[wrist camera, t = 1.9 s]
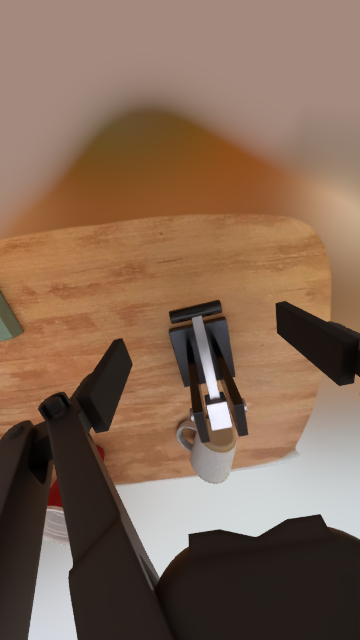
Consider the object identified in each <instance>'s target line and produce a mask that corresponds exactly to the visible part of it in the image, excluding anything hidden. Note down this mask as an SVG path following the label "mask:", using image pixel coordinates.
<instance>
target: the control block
mask: <svg viewBox="0 0 360 640" xmlns="http://www.w3.org/2000/svg"><path fill="white" fill-rule="evenodd" d="M23 332H24V331H23V329H22V328H21V326H20V324H19V323H18V321H17V319H16V318H15V316H14V314H13V312H12V311H11V309H10V307H9V306H8V304H7V302H6V301H5V299H4V297H3V295H2V294H1V292H0V341H3V340H8V339H12V338H15V337H16V336H18V335H20V334H22V333H23Z"/></svg>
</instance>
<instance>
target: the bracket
mask: <svg viewBox="0 0 360 640" xmlns="http://www.w3.org/2000/svg"><path fill="white" fill-rule="evenodd" d="M203 324H204V328H205V333H206V337H207V341H208V346H209V350H210V354H211V359H212V363H213V368H214V372H215V376H216V381H217V380H220V381H221V384H222V387H223V390H224V393H225V396H226V399H227V402H228V405H229V408H230V411H231V414H232V417H233V420H234V423H235V426H236V429H237V432H238V435H239V437H240V436H245V435H248V429H247V422H246V415H245V412H247V406H246V403H245V400H244V399H243V398H241V396H240V394H239V391H238V389H237V387H236V384H235V382H234V380H233V377H235V370H234V364H233V358H232V351H231V345H230V339H229V332H228V326H227V320H226V318H225V317H221V318H217V319H212V320H208V321H203ZM169 335H170V338H171V342H172V345H173V349H174V352H175V356H176V359H177V363H178V366H179V369H180V373H181V376H182V380H183V383H184V387H188V386H190V391H191V401H192V408H190V416H191V421H192V422H195V423H196V427H197V430H198V434H199V437H200V441H201V443H206V442H210V436H209V430H208V425H207V419H206V413H205V408H204V402H203V396H202V391H201V385H200V384H203V383H206V379H205V375H204V371H203V366H202V362H201V357H200V353H199V349H198V344H197V340H196V336H195V331H194V327H193V324H190V325H186V326H181V327H177V328H172V329H169Z"/></svg>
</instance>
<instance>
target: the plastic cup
mask: <svg viewBox="0 0 360 640" xmlns="http://www.w3.org/2000/svg"><path fill="white" fill-rule="evenodd" d="M95 446H96V445H95ZM96 448H97V450H98V452H99V454H100V456H101V458H102V460H104V452H103V450H102V449H101V448H100V447H98V446H96ZM43 539H46V540H48V541H51V542H54V543H59V544H63V545H70V543H69V538H68V532H67V527H66V522H65V517H64V512H63V506H62V501H61V496H60V491H59V486H58V481H57V479H56V481H55V482H54V484H53V485H52V487H51V488H50V491H49V498H48V505H47V511H46V518H45V525H44V532H43Z"/></svg>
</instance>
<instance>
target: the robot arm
mask: <svg viewBox="0 0 360 640" xmlns="http://www.w3.org/2000/svg"><path fill="white" fill-rule="evenodd" d="M276 320H277V333H278V334H279V335H280V336H281V337H282V338H284V339H285V340H286V341H287V342H288V343H289V344H291V345H292V346H293V347H294V348H295V349H296V350H298V351H299V352H300V353H301V354H302V355H304V356H305V357H306V358H307V359H308V360H309V361H311V362H312V363H313V364H314V365H315V366H316V367H318V368H319V369H320V370H321V371H322V372H323V373H325V374H326V375H327V376H328V377H329V378H330V379H332V380H333V381H334V382H335V383H336V384H338V385H339V386H342V385H347V384H352V383H354V379H355V374H356V375H358V376H359V377H360V333H358V332H356V331H353V330H351V329H349V328H346V327H345V326H343V325H341V324H338V323H334V322H330V321H329V322H326V321H324V320H322V319H320V318H318V317H316V316H314V315H312V314H310V313H308V312H306V311H304V310H302V309H300V308H298V307H296V306H294V305H292V304H290V303H288V302H286V301H283V302H279V303H276ZM132 365H133V364H132V361H131V359H130V356H129V354H128V351H127V349H126V346H125V344H124V341H123V339H122V338H121V339H116V340H114V341H113V342H112V344H111V345H110V347H109V348H108V350H107V351H106V353H105V354H104V356H103V357H102V359H101V360H100V362H99V363H98V365H97V366H96V368H95V369H94V371H93V372H92V373H91V374H89V375H88V376H86V377H85V378H84V379H83V380H82V382H81V383H80V386H78V388H77V390H76V391H75V392H74V393H73V395H72V396H71V398H70V399H69V398H68V397H67V395H66V393H64V392H59V393H56V394H54V395H52V396H50V397H48V398H47V399H45V400H44V401H43V402H42V403H41V404H40V406H39V408H38V410H39V412H40V413H41V415H42V416H43V418H44V419H45V420H46V421H44V422H42V423H39V424H37V425H35V426H34V425H33V424H32V422H31V421H29V420H27V421H23V422H20V423H18V424H17V425H14V426H13V427H12V428H10V429H9V430H8V431H7V432H6V433H5V434H4V435H3V437H2V438H1V440H0V640H28V633H29V627H30V620H31V613H32V606H33V600H34V593H35V586H36V579H37V572H38V566H39V559H40V551H41V545H42V538H43V532H44V525H45V518H46V511H47V505H48V498H49V491H50V484H51V477H52V471H53V464H54V465H55V470H56V475H57V481H58V486H59V491H60V496H61V501H62V506H63V512H64V517H65V522H66V527H67V532H68V538H69V543H70V547H71V553H72V557H73V568H72V569H71V570H70V571H69V577H68V579H69V588H70V595H71V601H72V607H73V614H74V620H75V626H76V632H77V638H78V640H360V539H358V538H356V537H354V536H352V535H350V534H348V533H346V532H343V531H341V530H337V529H334V528H331V527H327V526H326V524H325V522H324V520H323V518H322V516H321V515H320V514H319V515H312V516H306V517H300V518H292V519H287V520H285V521H283V522H282V523H280V524H278V525H277V526H275V527H274V528H272V529H270V530H268V531H267V532H265V533H263V534H262V535H260V536H258V537H252V536H247V535H243V534H238V533H234V532H229V531H224V530H213V531H206V532H199V533H193V534H189V547H187V548H186V549H184V550H183V551H182V552H180V553H179V554H178V555H177V556H176V557H175V558H174V559H173V560H172V561H171V562H170V564H169V565H168V567H167V568H166V569H165V571H164V572H163V574H162V576H161V577H160V578H159V576H158V574H157V572H156V570H155V568H154V566H153V564H152V563H151V561H150V559H149V557H148V555H147V553H146V551H145V549H144V547H143V545H142V543H141V540H140V539H139V536H138V534H137V532H136V530H135V528H134V526H133V524H132V522H131V519H130V517H129V515H128V513H127V511H126V509H125V507H124V505H123V503H122V500H121V498H120V496H119V494H118V492H117V490H116V488H115V486H114V484H113V481H112V479H111V477H110V475H109V473H108V471H107V469H106V467H105V465H104V462H103V460H102V458H101V456H100V454H99V452H98V450H97V448H96V446H95V443H94V441H93V439H92V437H91V435H90V434H89V431H90V429H91V427H93V429H94V431H95V432H96V433H100V432H105V431H108V430H109V427H110V425H111V422H112V419H113V417H114V414H115V411H116V408H117V406H118V403H119V400H120V398H121V395H122V392H123V389H124V387H125V384H126V381H127V378H128V376H129V373H130V370H131V368H132Z"/></svg>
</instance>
